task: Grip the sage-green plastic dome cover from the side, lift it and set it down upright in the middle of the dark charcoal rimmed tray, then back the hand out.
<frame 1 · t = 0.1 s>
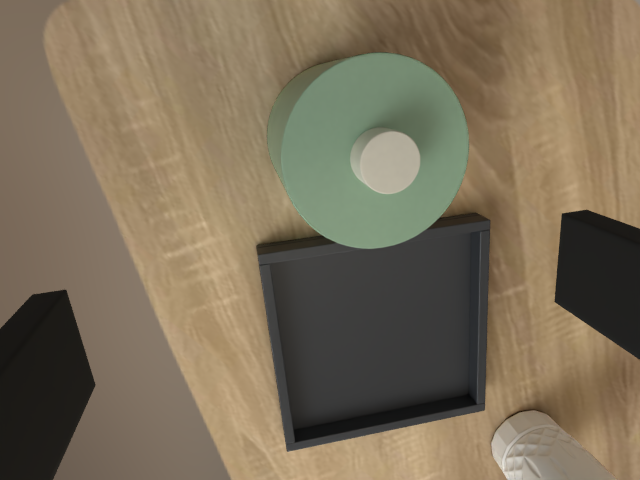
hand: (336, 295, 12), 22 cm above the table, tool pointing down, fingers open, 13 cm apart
white cup: (521, 436, 46), on the table
cover: (337, 136, 33), on the table
tray: (376, 328, 39), on the table
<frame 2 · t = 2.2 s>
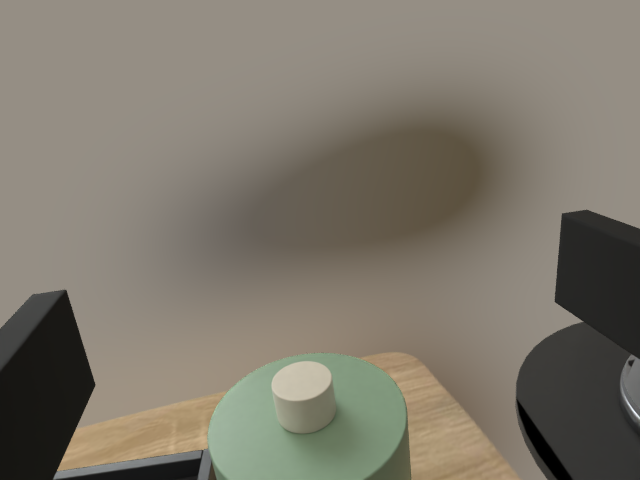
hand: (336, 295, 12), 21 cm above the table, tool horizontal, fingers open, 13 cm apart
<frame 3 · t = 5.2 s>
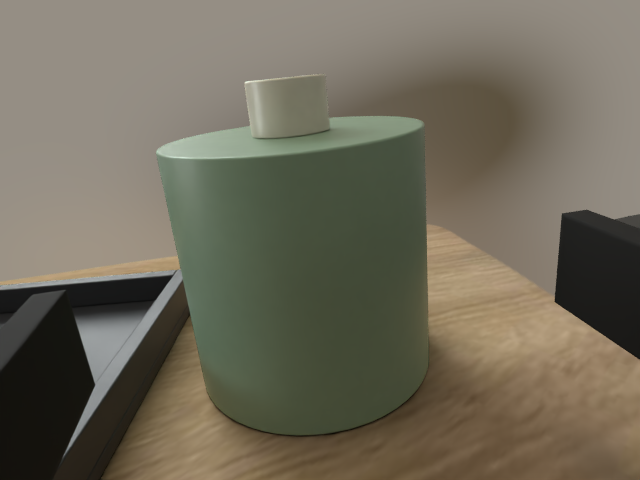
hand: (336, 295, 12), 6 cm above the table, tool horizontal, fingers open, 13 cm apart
cover: (316, 355, 21), on the table
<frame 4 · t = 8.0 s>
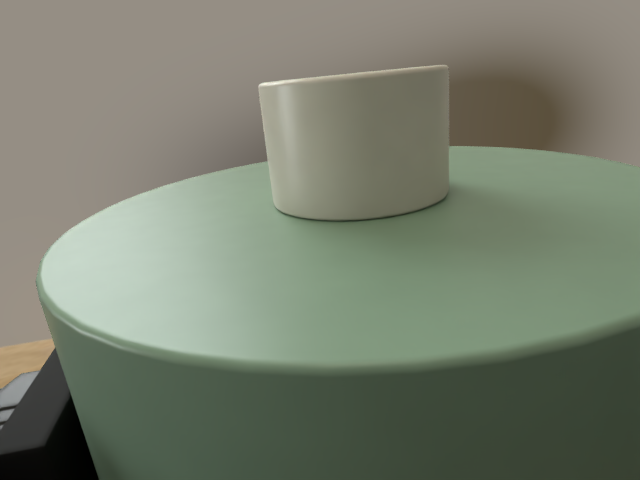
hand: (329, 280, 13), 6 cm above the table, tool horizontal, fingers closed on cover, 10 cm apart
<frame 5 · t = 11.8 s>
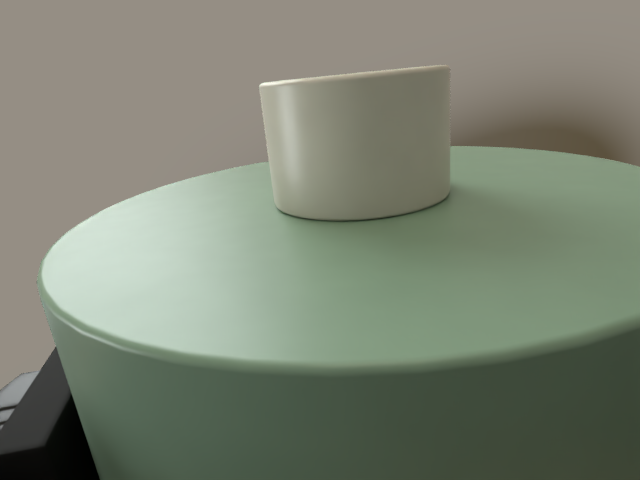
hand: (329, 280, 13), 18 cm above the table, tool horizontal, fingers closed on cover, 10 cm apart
when the fingers open (7 cm above the table, at t = 16.0 s): cover stays where it is, resting on tray.
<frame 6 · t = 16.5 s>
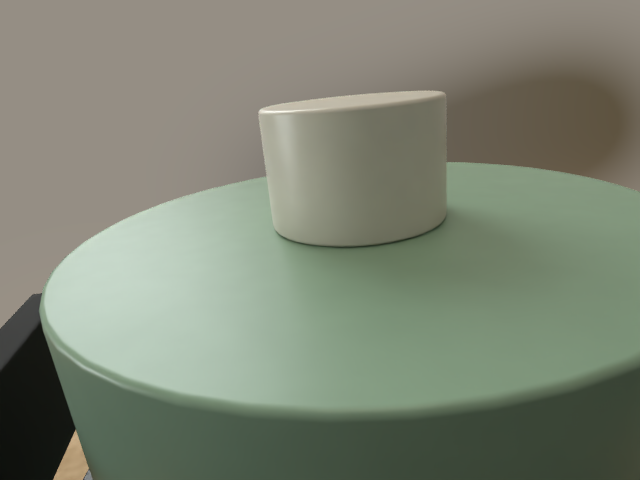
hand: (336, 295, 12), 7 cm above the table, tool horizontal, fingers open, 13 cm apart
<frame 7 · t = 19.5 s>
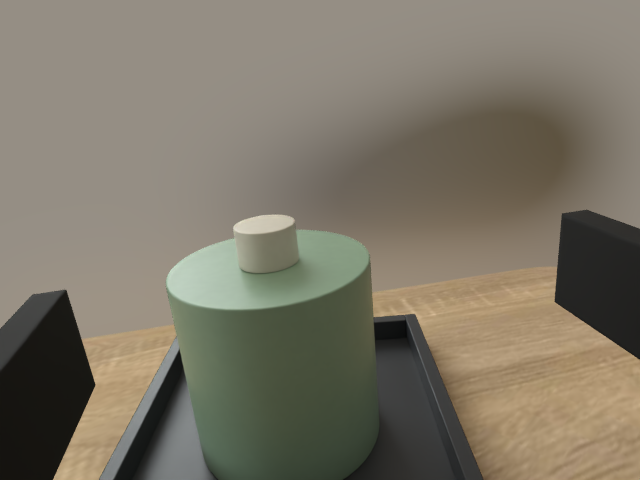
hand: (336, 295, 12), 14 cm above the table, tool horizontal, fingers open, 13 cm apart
cover: (291, 424, 26), point 1 cm above the table, touching tray
tray: (292, 432, 27), on the table
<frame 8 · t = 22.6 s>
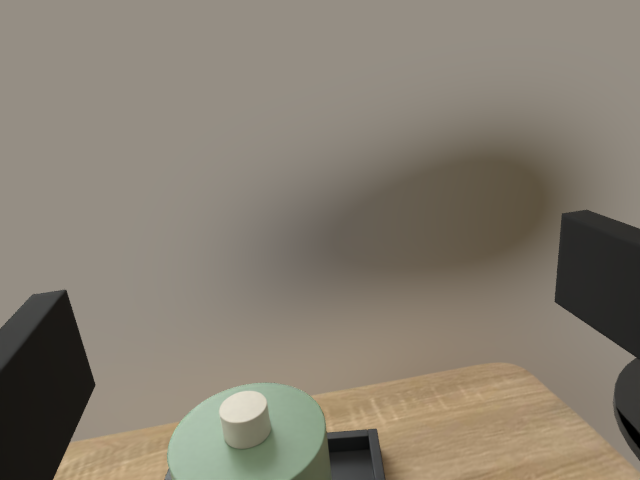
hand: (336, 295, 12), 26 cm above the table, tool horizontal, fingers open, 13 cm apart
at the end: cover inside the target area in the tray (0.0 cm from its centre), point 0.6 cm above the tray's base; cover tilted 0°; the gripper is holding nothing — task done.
